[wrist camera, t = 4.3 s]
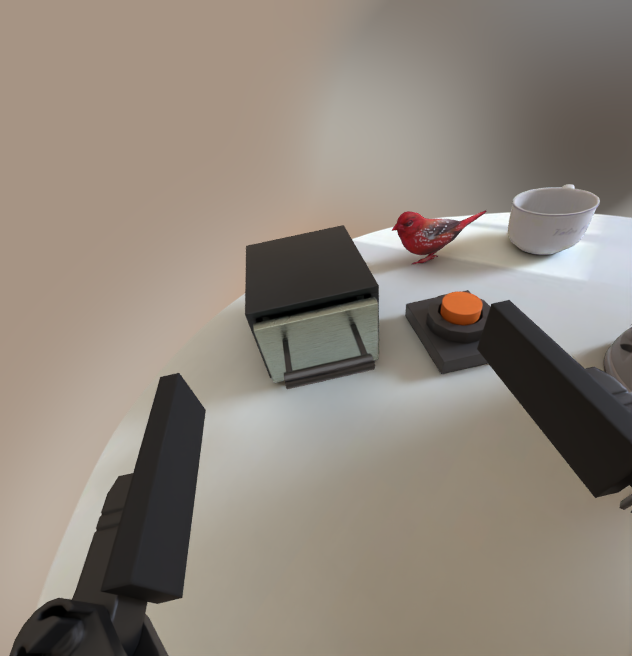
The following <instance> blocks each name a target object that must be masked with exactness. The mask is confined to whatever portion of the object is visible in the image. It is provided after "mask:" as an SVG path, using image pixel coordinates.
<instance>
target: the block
mask: <svg viewBox="0 0 632 656" xmlns="http://www.w3.org/2000/svg"><path fill="white" fill-rule="evenodd" d="M463 292H467V293H470V292H469V291H468V290H467V291H463ZM446 295H447V294H445V295H441V296H438V297H436V298H431V299H427V300H422V301H418V302H413V303H409V304H406V315H405V316H406V317H407V319H408V321H409V322H410V324H411V325H412V327H413V329H414V330H415V332H416V334H417V335H418V337H419V338H420V340H421V342H422V343H423V345H424V346H425V348H426V350H427V351H428V353H429V355H430V356H431V358H432V359H433V361H434V363H435V364H436V366H437V368H438V369H439V371H440V372H441V374H443V373H448V372H452V371H456V370H461V369H465V368H470V367H474V366H478V365H483V364H487V363H488V362H487V361H486V360H485V358H484V357H483V356H482V355H481V353H480V352H479V351H478V350H477V347H478V344H479V341H480V338H481V335H482V332H483V329H484V326H485V322H486V319H487V316H488V313H489V310H490V306H489V305H488V304H487V303H486V302H485V301H484V300H482V299H480V300H481V301H482V304H483V307H482V310H481V314H480V317H479V319H478V321H476V322H475V323H473V324H471V325H465V326H464V325H456V324H452V323H450V322H448V321H446V320H445V319H444V318H443V317H442V316H441V313H440V311H441V305H442V300H443V298H444V297H445V296H446Z"/></svg>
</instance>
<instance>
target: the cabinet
mask: <svg viewBox="0 0 632 656" xmlns="http://www.w3.org/2000/svg"><path fill="white" fill-rule="evenodd" d="M363 295H364V299H368V298H372V297H375V299H376V300H377V302H378V354H379V285H378V284H377V282H376V280H375V279H374V277H373V275H372V273H371V272H370V270H369V268H368V267H367V265H366V263H365V261H364V260H363V258H362V256H361V254H360V253H359V251H358V249H357V248H356V246H355V244H354V242H353V241H352V239H351V237H350V235H349V234H348V232H347V230H346V229H345V227H344V226H343V225H342V226H338V227H333V228H328V229H324V230H319V231H314V232H309V233H305V234H300V235H295V236H291V237H286V238H282V239H276V240H272V241H267V242H262V243H258V244H254V245H248V246H246V291H245V316H246V318H247V320H248V323H249V326H250V328H251V331H252V333H253V336H254V338H255V341H256V343H257V346H258V348H259V351H260V353H261V356H262V358H263V361H264V363H265V366H266V368H267V371H268V373H269V376H270V378H272V376H271V374H270V371H269V369H268V366H267V364H266V361H265V359H264V356H263V354H262V351H261V348H260V346H259V343H258V341H257V338H256V336H255V333H254V323H258V322H263V319H262V318H263V317H267V316H272V315H276V314H281V313H285V312H290V311H294V310H299V309H303V308H308V307H313V306H317V305H322V304H326V303H331V302H335V301H340V300H344V299H349V298H354V297H358V296H363Z"/></svg>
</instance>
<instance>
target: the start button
mask: <svg viewBox="0 0 632 656" xmlns="http://www.w3.org/2000/svg"><path fill="white" fill-rule="evenodd" d="M482 307H483V304H482V301H481V300H480V299H479V298H478V297H477V296H475V295H473V294H471V293H467V292H452V293H449V294H447V295H446V296H445V297H444V298H443V300H442V305H441V311H440V313H441V316H442V317H443V318H444V319H445V320H446V321H448V322H450V323H452V324H456V325H464V326H465V325H471V324H473V323H475V322H476V321H478V319H479V317H480V314H481V310H482Z"/></svg>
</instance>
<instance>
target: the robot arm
mask: <svg viewBox="0 0 632 656" xmlns="http://www.w3.org/2000/svg"><path fill="white" fill-rule="evenodd" d="M630 326H631V325H630ZM477 350H478V351H479V352H480V353H481V355H482V356H483V357H484V358H485V360H486V361H487V362H488V363H489V365H490V366H491V367H492V369H493V370H494V371H495V372H496V374H497V375H498V376H499V377H500V379H501V380H502V381H503V382H504V384H505V385H506V386H507V387H508V389H509V390H510V391H511V392H512V394H513V395H514V396H515V398H516V399H517V400H518V401H519V403H520V404H521V405H522V406H523V408H524V409H525V410H526V411H527V413H528V414H529V415H530V416H531V418H532V419H533V420H534V421H535V423H536V424H537V425H538V426H539V428H540V429H541V430H542V432H543V433H544V434H545V435H546V437H547V438H548V439H549V440H550V442H551V443H552V444H553V445H554V447H555V448H556V449H557V450H558V452H559V453H560V454H561V455H562V457H563V458H564V459H565V460H566V462H567V463H568V464H569V466H570V467H571V468H572V469H573V471H574V472H575V473H576V474H577V476H578V477H579V478H580V479H581V481H582V482H583V483H584V484H585V486H586V487H587V488H588V489H589V491H590V492H591V493H592V494H593V496H594V497H595V498H597V497H601V496H605V495H609V494H613V493H618V492H620V491H621V490H623V489H624V488H626V487H627V486H629V485H630V486H631V487H632V327H631V328H630V329H628V330H626V331H625V332H624V333H623V334H622V335H620V336H619V337H618V338H617V339H616V340H615V341H614V343H613V344H612V345H611V347H610V348H609V349H608V351H607V353H606V355H605V360H604V365H605V370H606V373H605V372H603V371H601V370H599V369H598V368H596V367H591V368H586V369H584V368H583V367H582V366H581V365H580V364H579V363H578V362H576V361H575V360H574V359H573V358H572V357H571V356H570V355H569V354H568V353H567V352H566V351H564V350H563V349H562V348H561V347H560V346H559V345H558V344H557V343H556V342H555V341H553V340H552V339H551V338H550V337H549V336H548V335H547V334H546V333H545V332H544V331H543V330H541V329H540V328H539V327H538V326H537V325H536V324H535V323H534V322H533V321H532V320H531V319H529V318H528V317H527V316H526V315H525V314H524V313H523V312H522V311H521V310H520V309H519V308H517V307H516V306H515V305H514V304H513V303H512V302H511V301H510V300H507V301H502V302H498V303H493V304H491V307H490V310H489V313H488V316H487V319H486V322H485V326H484V329H483V332H482V335H481V338H480V341H479V344H478V347H477ZM205 411H206V410H205V408H204V407H203V406H202V404H201V403H200V401H199V400H198V399H197V397H196V396H195V394H194V393H193V392H192V390H191V389H190V387H189V386H188V385H187V383H186V382H185V380H184V379H183V378H182V376H181V375H180V373H177V374H172V375H168V376H163V377H160V380H159V384H158V387H157V391H156V394H155V398H154V402H153V405H152V409H151V412H150V416H149V419H148V423H147V426H146V430H145V433H144V437H143V441H142V444H141V448H140V451H139V455H138V458H137V462H136V465H135V469H134V473H131V474H127V475H123V476H119V477H118V478H117V480H116V481H115V483H114V485H113V486H112V488H111V489H110V491H109V492H108V494H107V497H106V500H105V503H104V506H103V509H102V512H101V513H102V515H101V516H100V518H99V521H98V524H97V527H96V529H97V531H96V532H95V533H94V536H93V539H92V542H91V545H90V548H89V551H88V554H87V557H86V560H85V564H84V567H83V570H82V573H81V576H80V579H79V582H78V585H77V588H76V591H75V593H74V596H73V598H72V600H69V599H63V598H57V599H54V600H51V601H49V602H47V603H45V604H44V605H43V606H41V607H40V608H39V609H38V610H36V611H35V612H34V613H33V615H32V616H31V617H30V618H29V619H28V620H27V622H26V623H25V624H24V625H23V627H22V629H21V630H20V632H19V634H18V636H17V637H16V639H15V641H14V644H13V647H12V650H11V653H10V656H168V654H167V652H166V650H165V648H164V646H163V644H162V642H161V640H160V638H159V636H158V634H157V632H156V631H155V629H154V627H153V625H152V623H151V621H150V619H149V617H148V616H147V615H146V614H145V612H146V606H147V602H151V603H156V604H158V603H163V602H167V601H171V600H175V599H179V598H182V595H183V587H184V579H185V571H186V563H187V555H188V547H189V539H190V531H191V523H192V515H193V507H194V499H195V491H196V483H197V475H198V467H199V459H200V451H201V443H202V435H203V427H204V419H205ZM630 506H632V494H631V495H629V496H628V497H626V498H625V499H623V500H622V501H621V503H620V508H621V509H623V510H625V509H626V508H628V507H630ZM631 513H632V511H631Z"/></svg>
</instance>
